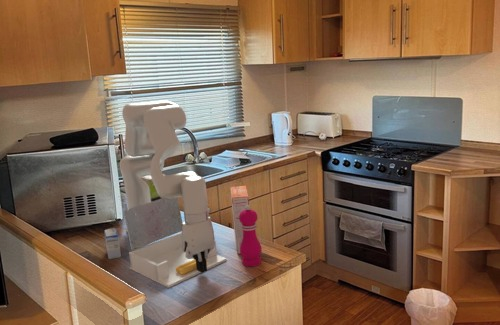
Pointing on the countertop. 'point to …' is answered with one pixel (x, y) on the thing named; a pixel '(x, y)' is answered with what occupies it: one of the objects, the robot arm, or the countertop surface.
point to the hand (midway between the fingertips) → (202, 270)
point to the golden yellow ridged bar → (187, 267)
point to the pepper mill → (249, 238)
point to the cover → (152, 221)
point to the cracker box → (238, 211)
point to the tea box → (151, 188)
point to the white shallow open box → (167, 261)
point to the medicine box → (112, 243)
